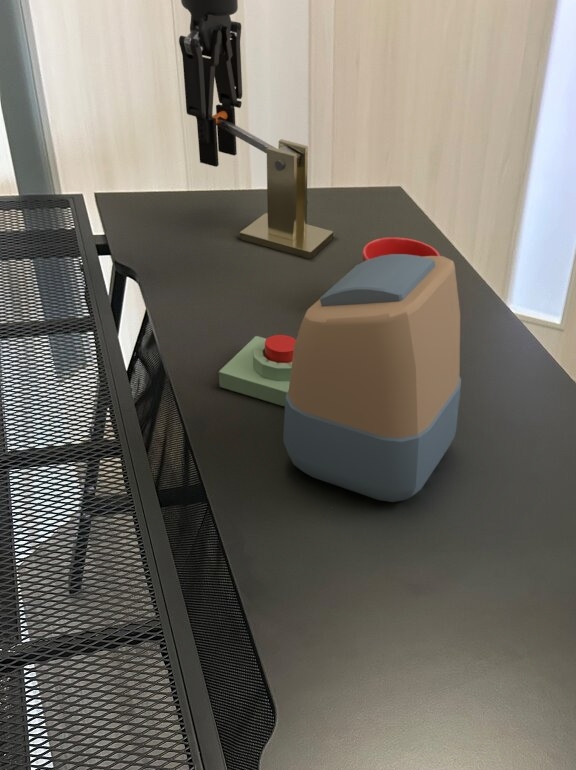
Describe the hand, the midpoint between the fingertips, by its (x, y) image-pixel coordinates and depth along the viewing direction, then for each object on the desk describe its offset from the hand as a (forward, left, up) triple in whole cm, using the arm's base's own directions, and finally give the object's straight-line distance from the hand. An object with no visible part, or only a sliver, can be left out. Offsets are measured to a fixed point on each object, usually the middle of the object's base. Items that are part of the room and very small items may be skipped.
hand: (218, 158), depth 131 cm
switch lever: (+6, 0, +3) cm, 6 cm away
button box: (+28, -38, -10) cm, 48 cm away
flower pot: (+35, -15, -10) cm, 40 cm away
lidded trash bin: (+44, -48, -10) cm, 66 cm away
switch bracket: (+11, 0, -10) cm, 15 cm away
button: (+28, -38, -6) cm, 48 cm away
